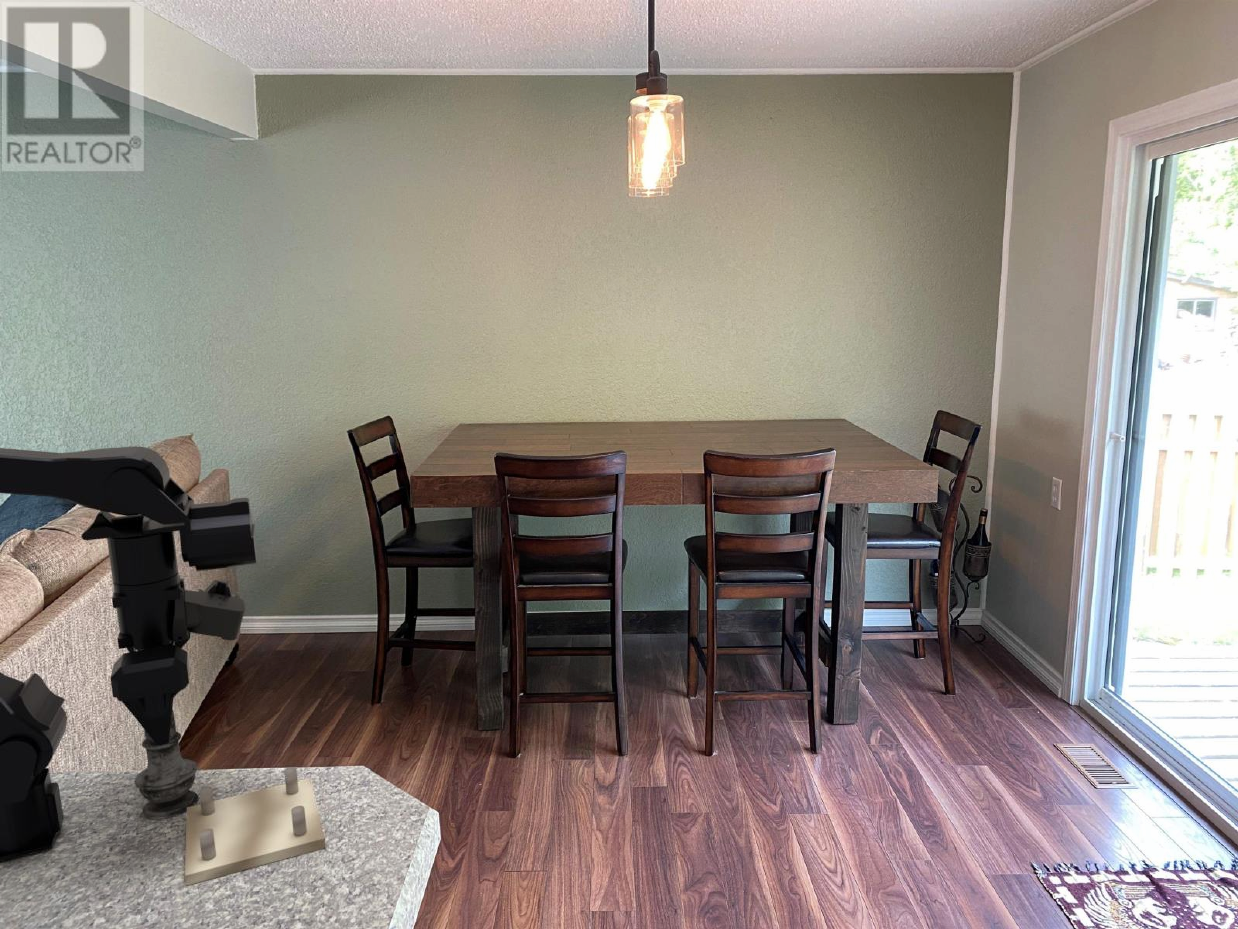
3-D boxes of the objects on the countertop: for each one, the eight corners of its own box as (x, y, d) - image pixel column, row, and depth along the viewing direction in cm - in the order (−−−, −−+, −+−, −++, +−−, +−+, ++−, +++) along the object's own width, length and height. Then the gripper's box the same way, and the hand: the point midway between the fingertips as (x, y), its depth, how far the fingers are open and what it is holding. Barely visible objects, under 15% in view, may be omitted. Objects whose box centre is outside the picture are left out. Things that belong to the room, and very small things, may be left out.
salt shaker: (175, 824, 88) (159, 713, 86) (125, 818, 90) (109, 709, 87) (213, 792, 94) (200, 687, 92) (166, 787, 95) (152, 683, 93)
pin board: (186, 885, 79) (181, 850, 78) (187, 816, 90) (183, 785, 89) (325, 847, 84) (322, 814, 83) (311, 786, 95) (308, 756, 94)
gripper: (238, 591, 81) (255, 747, 84) (232, 542, 98) (246, 673, 101) (100, 611, 77) (122, 775, 80) (118, 556, 93) (136, 693, 96)
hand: (164, 723), depth 89 cm, fingers open, 9 cm apart
